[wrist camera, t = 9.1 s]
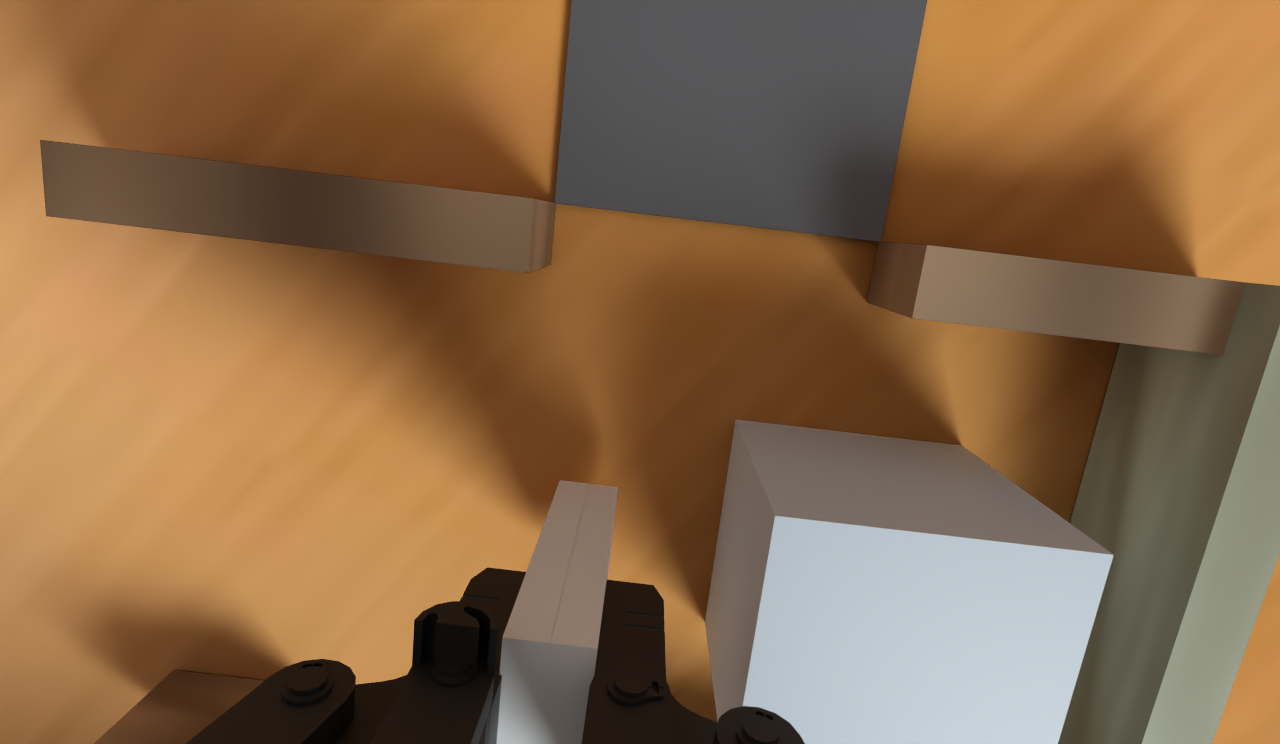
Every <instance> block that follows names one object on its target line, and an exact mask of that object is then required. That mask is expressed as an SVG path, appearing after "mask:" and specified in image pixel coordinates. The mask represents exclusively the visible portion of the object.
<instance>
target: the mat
mask: <svg viewBox="0 0 1280 744" xmlns="http://www.w3.org/2000/svg"><path fill="white" fill-rule="evenodd" d="M926 4H927V0H572V3H571V14H570V26H569V38H568V50H567V62H566V73H565V85H564V97H563V109H562V121H561V133H560V144H559V156H558V168H557V180H556V192H555V203H557V204H565V205H573V206H582V207H590V208H599V209H607V210H616V211H624V212H633V213H641V214H649V215H658V216H666V217H675V218H683V219H692V220H700V221H709V222H717V223H726V224H734V225H742V226H751V227H759V228H768V229H776V230H785V231H793V232H802V233H810V234H818V235H827V236H835V237H844V238H852V239H861V240H869V241H878V242H881V239H882V234H883V228H884V223H885V218H886V213H887V208H888V202H889V197H890V192H891V187H892V181H893V176H894V171H895V166H896V161H897V155H898V150H899V145H900V140H901V135H902V129H903V124H904V119H905V114H906V108H907V103H908V98H909V93H910V88H911V82H912V77H913V72H914V67H915V61H916V56H917V51H918V46H919V41H920V35H921V30H922V25H923V20H924V14H925V9H926Z"/></svg>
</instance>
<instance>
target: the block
mask: <svg viewBox="0 0 1280 744" xmlns="http://www.w3.org/2000/svg"><path fill="white" fill-rule="evenodd" d="M1113 556H1114V555H1113V554H1112V553H1110V552H1109V551H1108V550H1106V549H1105V548H1104V547H1102V546H1101V545H1099V544H1098V543H1097V542H1095V541H1094V540H1092V539H1091V538H1090V537H1088V536H1087V535H1085V534H1084V533H1083V532H1081V531H1080V530H1078V529H1077V528H1076V527H1074V526H1073V525H1072V524H1070V523H1069V522H1067V521H1066V520H1065V519H1063V518H1062V517H1060V516H1059V515H1058V514H1056V513H1055V512H1053V511H1052V510H1051V509H1049V508H1048V507H1047V506H1045V505H1044V504H1042V503H1041V502H1040V501H1038V500H1037V499H1035V498H1034V497H1033V496H1031V495H1030V494H1028V493H1027V492H1026V491H1024V490H1023V489H1021V488H1020V487H1019V486H1017V485H1016V484H1015V483H1013V482H1012V481H1010V480H1009V479H1008V478H1006V477H1005V476H1003V475H1002V474H1001V473H999V472H998V471H996V470H995V469H994V468H992V467H991V466H990V465H988V464H987V463H985V462H984V461H983V460H981V459H980V458H978V457H977V456H976V455H974V454H973V453H971V452H970V451H969V450H967V449H966V448H965V447H963V446H962V445H954V444H945V443H937V442H928V441H919V440H911V439H902V438H893V437H885V436H876V435H867V434H859V433H850V432H841V431H833V430H824V429H815V428H807V427H798V426H789V425H781V424H772V423H763V422H755V421H746V420H737V419H735V426H734V433H733V439H732V446H731V452H730V459H729V466H728V472H727V479H726V486H725V492H724V499H723V505H722V512H721V519H720V525H719V532H718V539H717V545H716V552H715V558H714V565H713V572H712V578H711V585H710V592H709V598H708V605H707V612H706V618H705V626H706V634H707V642H708V650H709V658H710V666H711V674H712V682H713V690H714V698H715V706H716V715H717V723H718V720H719V718H720V716H721V715H723V714H724V713H725V712H727V711H728V710H729V709H733V708H737V707H741V706H749V707H760V708H762V709H765V710H768V711H771V712H774V713H776V714H777V715H779V716H780V717H782V718H783V719H785V720H786V721H788V722H789V723H790V724H791V725H792V726H793V727H794V729H795V730H796V731H797V732H798V733H799V734H800V736H801V738H802V739H803V741H804V743H805V744H1058V742H1059V738H1060V735H1061V732H1062V728H1063V725H1064V721H1065V718H1066V715H1067V711H1068V708H1069V705H1070V701H1071V698H1072V694H1073V691H1074V688H1075V684H1076V681H1077V677H1078V674H1079V671H1080V667H1081V664H1082V661H1083V657H1084V654H1085V650H1086V647H1087V644H1088V640H1089V637H1090V634H1091V630H1092V627H1093V623H1094V620H1095V617H1096V613H1097V610H1098V606H1099V603H1100V600H1101V596H1102V593H1103V590H1104V586H1105V583H1106V579H1107V576H1108V573H1109V569H1110V566H1111V563H1112V559H1113Z"/></svg>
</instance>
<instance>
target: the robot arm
mask: <svg viewBox="0 0 1280 744" xmlns="http://www.w3.org/2000/svg"><path fill="white" fill-rule="evenodd" d="M617 495H618V487H614V486H605V485H597V484H588V483H580V482H571V481H563V480H560V481H559V484H558V487H557V489H556V492H555V495H554V498H553V500H552V503H551V506H550V509H549V511H548V514H547V517H546V520H545V522H544V525H543V528H542V530H541V533H540V536H539V539H538V541H537V544H536V547H535V550H534V552H533V555H532V558H531V561H530V563H529V566H528V569H527V572H521V571H512V570H504V569H495V568H486V569H485V570H483V571H482V572H481V573H479V574H478V575H476V576H475V577H473V578H472V579H471V580H470V582H469V584H468V586H467V588H466V590H465V592H464V594H463V597H462V598H461V600H460V602H447V603H442V604H438V605H435V606H433V607H431V608H429V609H427V610H425V611H423V612H422V613H421V614H420V615H419V616H418V617H417V618H416V619H415V621H414V641H413V661H412V667H411V669H410V671H409V673H408V675H405V676H403V677H400V678H397V679H393V680H388V681H383V682H375V683H366V684H357V685H355V681H356V677H355V675H354V673H353V672H352V670H351V669H350V667H348V666H346V665H344V664H342V663H340V662H339V661H332V660H325V659H318V660H308V661H302V662H299V663H296V664H293V665H290V666H287V667H285V668H283V669H282V670H280V671H278V672H277V673H275V674H273V675H272V676H270V677H269V678H268V679H266V680H265V681H264V682H263V683H261V684H260V685H259V686H258V687H256V688H255V689H254V690H253V691H251V692H250V693H249V694H247V695H246V696H245V697H244V698H242V699H241V700H240V701H239V702H237V703H236V704H235V705H234V706H232V707H231V708H230V709H228V710H227V711H226V712H225V713H223V714H222V715H221V716H220V717H218V718H217V719H216V720H215V721H213V722H212V723H211V724H210V725H208V726H207V727H206V728H204V729H203V730H202V731H201V732H199V733H198V734H197V735H196V736H194V737H193V738H192V739H191V740H189V741H188V742H187V743H185V744H805V743H804V741H803V739H802V738H801V736H800V734H799V733H798V732H797V731H796V730H795V729H794V727H793V726H792V725H791V724H790V723H789V722H788V721H786V720H785V719H783V718H782V717H780V716H779V715H777V714H776V713H774V712H771V711H768V710H765V709H762V708H760V707H749V706H741V707H737V708H733V709H729V710H728V711H727V712H725V713H724V714H723V715H721V716H720V718H719V720H718V723H717V722H715V721H712V720H709V719H707V718H704V717H701V716H699V715H697V714H695V713H693V712H691V711H689V710H688V709H686V708H685V707H683V706H682V705H681V704H679V703H678V702H677V700H676V699H675V698H674V697H673V696H672V694H671V692H670V689H669V686H668V684H667V682H666V666H665V632H664V600H663V599H662V597H661V596H660V594H659V593H658V591H657V590H656V588H655V587H654V585H647V584H638V583H630V582H621V581H613V580H607V579H608V571H609V563H610V554H611V546H612V537H613V529H614V521H615V512H616V504H617Z"/></svg>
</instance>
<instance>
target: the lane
mask: <svg viewBox="0 0 1280 744" xmlns="http://www.w3.org/2000/svg"><path fill="white" fill-rule="evenodd" d="M40 144H41V157H42V169H43V182H44V195H45V208H46V216H50V217H59V218H67V219H76V220H84V221H93V222H101V223H110V224H118V225H127V226H135V227H143V228H152V229H160V230H169V231H177V232H186V233H194V234H203V235H211V236H220V237H228V238H237V239H245V240H254V241H262V242H270V243H279V244H287V245H296V246H304V247H313V248H321V249H330V250H338V251H347V252H355V253H364V254H372V255H381V256H389V257H398V258H406V259H414V260H423V261H431V262H440V263H448V264H457V265H465V266H474V267H482V268H491V269H499V270H508V271H516V272H525V273H529V272H532V271H535V270H537V269H540V268H543V267H545V266H548V265H551V253H552V242H553V230H554V218H555V206H556V203H552V202H547V201H543V200H539V199H534V198H526V197H518V196H509V195H501V194H492V193H484V192H476V191H467V190H459V189H450V188H442V187H433V186H425V185H416V184H408V183H400V182H391V181H383V180H374V179H366V178H357V177H349V176H340V175H332V174H324V173H315V172H307V171H298V170H290V169H281V168H273V167H264V166H256V165H248V164H239V163H231V162H222V161H214V160H205V159H197V158H188V157H180V156H172V155H163V154H155V153H146V152H138V151H129V150H121V149H112V148H104V147H96V146H87V145H79V144H70V143H62V142H53V141H45V140H40ZM867 302H868V303H871V304H874V305H877V306H879V307H882V308H885V309H888V310H890V311H893V312H896V313H899V314H902V315H904V316H907V317H910V318H914V319H923V320H931V321H940V322H948V323H957V324H965V325H973V326H982V327H990V328H999V329H1007V330H1016V331H1024V332H1033V333H1041V334H1050V335H1058V336H1067V337H1075V338H1084V339H1092V340H1101V341H1109V342H1117V343H1120V345H1119V348H1118V352H1117V355H1116V359H1115V363H1114V366H1113V370H1112V373H1111V377H1110V380H1109V384H1108V388H1107V391H1106V395H1105V398H1104V402H1103V406H1102V409H1101V413H1100V416H1099V420H1098V424H1097V427H1096V431H1095V434H1094V438H1093V442H1092V445H1091V449H1090V452H1089V456H1088V460H1087V463H1086V467H1085V470H1084V474H1083V477H1082V481H1081V485H1080V488H1079V492H1078V495H1077V499H1076V503H1075V506H1074V510H1073V513H1072V517H1071V521H1070V524H1072V525H1073V526H1074V527H1076V528H1077V529H1078V530H1080V531H1081V532H1083V533H1084V534H1085V535H1087V536H1088V537H1090V538H1091V539H1092V540H1094V541H1095V542H1097V543H1098V544H1099V545H1101V546H1102V547H1104V548H1105V549H1106V550H1108V551H1109V552H1110V553H1112V554H1113V555H1114V556H1113V559H1112V563H1111V566H1110V569H1109V573H1108V576H1107V579H1106V583H1105V586H1104V590H1103V593H1102V596H1101V600H1100V603H1099V606H1098V610H1097V613H1096V617H1095V620H1094V623H1093V627H1092V630H1091V634H1090V637H1089V640H1088V644H1087V647H1086V650H1085V654H1084V657H1083V661H1082V664H1081V667H1080V671H1079V674H1078V677H1077V681H1076V684H1075V688H1074V691H1073V694H1072V698H1071V701H1070V705H1069V708H1068V711H1067V715H1066V718H1065V721H1064V725H1063V728H1062V732H1061V735H1060V738H1059V742H1058V744H1212V742H1213V739H1214V736H1215V733H1216V730H1217V728H1218V725H1219V722H1220V719H1221V716H1222V714H1223V711H1224V708H1225V705H1226V702H1227V700H1228V697H1229V694H1230V691H1231V688H1232V686H1233V683H1234V680H1235V677H1236V674H1237V672H1238V669H1239V666H1240V663H1241V660H1242V658H1243V655H1244V652H1245V649H1246V646H1247V644H1248V641H1249V638H1250V635H1251V632H1252V630H1253V627H1254V624H1255V621H1256V618H1257V616H1258V613H1259V610H1260V607H1261V604H1262V602H1263V599H1264V596H1265V593H1266V590H1267V588H1268V585H1269V582H1270V579H1271V576H1272V574H1273V571H1274V568H1275V565H1276V562H1277V560H1278V557H1279V554H1280V286H1275V285H1264V284H1254V283H1244V282H1236V281H1227V280H1219V279H1210V278H1202V277H1193V276H1185V275H1176V274H1168V273H1160V272H1151V271H1143V270H1134V269H1126V268H1117V267H1109V266H1100V265H1092V264H1084V263H1075V262H1067V261H1058V260H1050V259H1041V258H1033V257H1024V256H1016V255H1008V254H999V253H991V252H982V251H974V250H965V249H957V248H948V247H940V246H932V245H920V244H906V243H891V242H878V245H877V251H876V256H875V261H874V266H873V272H872V277H871V282H870V287H869V293H868V298H867ZM264 681H265V680H256V679H248V678H239V677H230V676H222V675H213V674H205V673H196V672H187V671H179V670H173V671H172V672H171V673H170V674H169V675H168V676H167V677H166V678H165V679H164V680H163V681H161V682H160V683H159V684H158V685H157V686H156V687H155V688H154V689H153V690H152V691H151V692H150V693H148V694H147V695H146V696H145V697H144V698H143V699H142V700H141V701H140V702H139V703H138V704H137V705H135V706H134V707H133V708H132V709H131V710H130V711H129V712H128V713H127V714H126V715H125V716H124V717H122V718H121V719H120V720H119V721H118V722H117V723H116V724H115V725H114V726H113V727H112V728H111V729H109V730H108V731H107V732H106V733H105V734H104V735H103V736H102V737H101V738H100V739H99V740H97V741H96V742H95V743H94V744H185V743H187V742H188V741H189V740H191V739H192V738H193V737H194V736H196V735H197V734H198V733H199V732H201V731H202V730H203V729H204V728H206V727H207V726H208V725H210V724H211V723H212V722H213V721H215V720H216V719H217V718H218V717H220V716H221V715H222V714H223V713H225V712H226V711H227V710H228V709H230V708H231V707H232V706H234V705H235V704H236V703H237V702H239V701H240V700H241V699H242V698H244V697H245V696H246V695H247V694H249V693H250V692H251V691H253V690H254V689H255V688H256V687H258V686H259V685H260V684H261V683H263V682H264Z"/></svg>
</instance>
